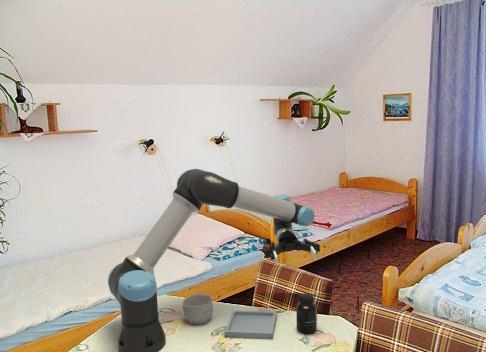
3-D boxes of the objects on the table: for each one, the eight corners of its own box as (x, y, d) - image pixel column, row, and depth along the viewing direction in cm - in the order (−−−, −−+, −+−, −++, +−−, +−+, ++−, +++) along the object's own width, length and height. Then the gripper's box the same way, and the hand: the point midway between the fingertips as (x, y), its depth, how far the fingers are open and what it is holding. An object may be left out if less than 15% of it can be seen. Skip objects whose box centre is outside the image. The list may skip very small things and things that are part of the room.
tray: (224, 337, 146) (224, 331, 146) (233, 315, 161) (233, 310, 161) (272, 339, 143) (272, 333, 143) (276, 316, 159) (276, 311, 158)
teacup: (208, 328, 153) (207, 306, 152) (179, 326, 155) (177, 305, 154) (218, 310, 166) (217, 290, 165) (191, 309, 168) (190, 289, 167)
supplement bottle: (309, 337, 143) (308, 302, 142) (292, 331, 148) (291, 297, 146) (321, 329, 148) (320, 295, 147) (304, 323, 153) (303, 290, 151)
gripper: (318, 245, 174) (332, 264, 154) (256, 252, 174) (261, 273, 153) (317, 226, 173) (330, 244, 152) (254, 234, 172) (259, 252, 152)
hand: (296, 258), depth 152 cm, fingers open, 13 cm apart
